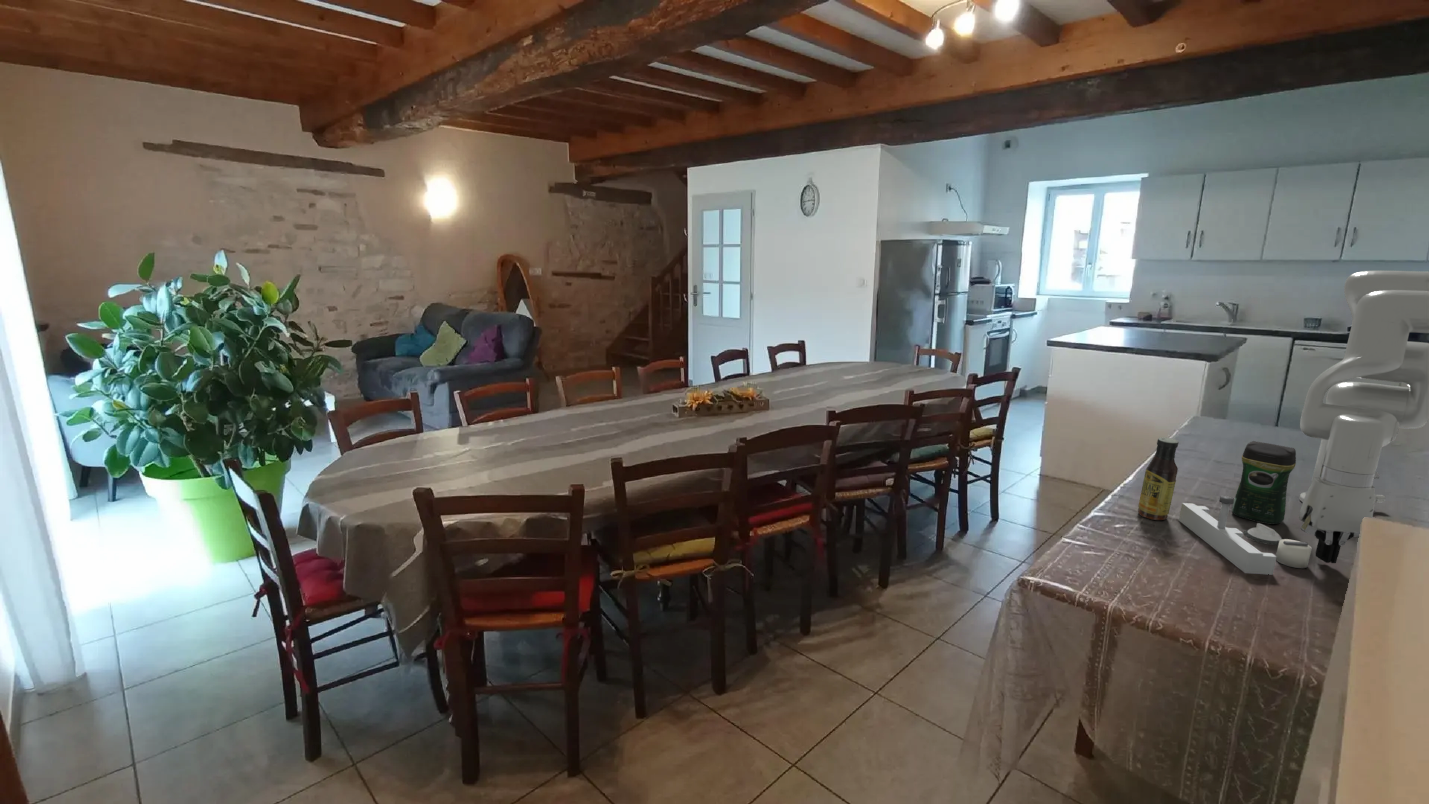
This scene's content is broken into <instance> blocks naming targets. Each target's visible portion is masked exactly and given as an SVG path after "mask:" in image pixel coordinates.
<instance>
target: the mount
mask: <svg viewBox="0 0 1429 804" xmlns="http://www.w3.org/2000/svg"><path fill="white" fill-rule="evenodd" d="M1234 499H1235V497H1234V498H1233V497H1231V496H1228V495H1220V496H1219V500H1218V501H1219V502H1220V504H1221V506H1220V511H1219V515H1218V520H1217V519H1216V518H1214V516H1212V515H1210V511H1211V510H1210V509H1209V507H1207V506H1205V505H1196V504H1195V503H1189V502H1188V503H1187V502H1182V503H1181V507H1180V511H1179V518H1178V521H1179V522H1180V523H1181V524H1183V525H1184V526H1185V527H1187V528H1188V529H1189V530H1190V531H1191V532H1192V533H1194V534H1195V535H1196V536H1198V537H1200V539H1201V540H1203V541H1204V542H1205V543H1206V544H1208V545H1209V546H1211V547H1212V548H1213V549H1214V550H1215V551H1216V552H1218V553H1219V554H1221V555H1222V556H1223V557H1224V558H1225V559H1227V560H1228V561H1229V562H1230V563H1232V565H1234V566H1235V567H1237V568H1238V569H1239V570H1240V571H1242V572H1243V573H1244V574H1254V575H1268V574H1269V576H1270V575H1271V576H1273V574H1274V570H1275V567H1276V561H1277V560H1276V558H1277V557H1276V554H1274V553H1272V552H1262V551H1260V550H1259V549H1257V548H1256V547H1255V546H1253V545H1252V544H1251V543H1249V542H1248V541H1246V540H1245V539H1244V538H1243V537H1244V532H1242V531H1241V530H1240V529H1238V528H1236V527H1227V521H1228V517H1229V511H1230V506H1231V505H1233V503H1234Z"/></svg>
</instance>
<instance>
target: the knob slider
mask: <svg viewBox="0 0 1429 804" xmlns="http://www.w3.org/2000/svg"><path fill="white" fill-rule="evenodd" d="M1312 550H1313V549H1312V546H1311V545H1309V543H1308V542H1305V541H1299V540H1294V539H1290V538H1289V539H1288V538H1283V539H1282V540H1280V541H1279V545H1277V550H1276V554H1275V556H1276V557H1277V558H1276V561H1277V563H1280V564H1282V565H1285V566H1287V567H1291V568H1296V569H1305V568H1308V566H1309V562H1310V558H1311V555H1312V554H1311V553H1312Z"/></svg>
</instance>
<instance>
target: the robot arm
mask: <svg viewBox="0 0 1429 804" xmlns="http://www.w3.org/2000/svg"><path fill="white" fill-rule="evenodd" d="M1343 287H1344V288H1343V291H1344V296H1345V298H1344V299H1345V300H1346V303H1347V305H1348V307H1349V310H1350V315H1351V321H1352V322H1351V327H1350V331H1349V335H1348V340H1347V344H1346V348H1345V352H1344V357H1343V359H1341V361H1338V362H1337V363H1336V364H1335V363H1334V364H1333V365H1332V366H1330V367H1328V368H1327V369H1326V370H1324V371H1323V372H1321V373H1320V374H1319V375H1318V376H1317V377H1316V378H1315V379H1314V380H1313V381H1312V382H1311V384H1310V386H1309V388H1308V389H1307V390H1308V391H1307V392H1306V396H1305V400H1304V403H1303V407H1302V412H1301V415H1300V416H1301V417H1300V420H1299V421H1300V422H1299V423H1300V424H1299V427H1300V430H1301V432H1302V434H1303V435H1305V436H1307V437H1309V438H1313V439H1318V440H1320V444H1319V448H1318V453H1317V457H1316V462H1315V466H1314V468H1313V469H1314V470H1313V474H1312V479H1311V481H1310V482H1311V483H1310V485H1309V487H1308V489H1307V491H1305V492H1304V491H1303V492H1301V493H1300V494H1299V500H1300V501H1301V503H1302V504H1301V507H1300V511H1299V514H1298V519H1299V521H1301V522H1303V523H1302V525H1301V527H1300V530H1301V531H1303V532H1304V533H1307V534H1309V535H1313V536H1314V537H1315V538H1316V539H1317V540H1318V541H1317V545H1316V550H1315V557H1316V558H1318V559H1319V560H1321V561H1323V562H1324V563H1325V564H1330V563H1331V564H1336V563H1337V561H1338V558H1339V554H1340V550H1341V547H1343V546H1345V545H1346V544H1347V542H1348V541H1349V540H1350V539H1352V538H1357V537H1360V536H1359V534H1360V524H1361V522H1362V519H1363V518H1364V517H1371V518H1372V519H1373V517H1374V510H1375V503H1378V504H1379V503H1380V504H1382V503H1385V502H1386V496H1385V495H1383V494H1376V491H1375V490H1376V489H1375V486H1374V485H1373V483H1374V480H1375V479H1376V480H1378V479H1380V476H1381V475H1380V474H1379V472H1378V471H1377V468H1378V465H1379V461H1380V457H1381V453H1382V450H1383V449H1382V448H1383V447H1386V446H1388V445H1389V444H1390V443H1391V442H1394V441H1395V440H1396V439H1397V437H1398V434H1399V431H1400V429H1409V430H1410V429H1411V430H1412V429H1413V430H1414V429H1415V430H1416V429H1420V428H1423V427H1424V426H1426V424H1427V422H1428V421H1429V342H1422V341H1421V342H1420V341H1408V340H1409V336H1410V333H1420V334H1429V271H1421V270H1420V271H1419V270H1418V271H1417V270H1416V271H1415V270H1412V271H1411V270H1363V271H1362V270H1361V271H1358V272H1354V273H1351V274H1350V275H1349V276H1348V277H1347V278H1346V280H1345V282H1344V286H1343ZM1352 379H1362V380H1369V381H1370V380H1371V381H1379V382H1386V383H1387V382H1389V383H1397V384H1398V383H1399V384H1405V385H1406V386H1399V385H1398V386H1397V385H1389V384H1383V383H1381V384H1380V383H1372V382H1363V381H1361V382H1360V381H1348V380H1352ZM1325 395H1326V399H1325V403H1324V402H1323V400H1324V398H1325Z"/></svg>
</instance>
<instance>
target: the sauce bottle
mask: <svg viewBox="0 0 1429 804" xmlns="http://www.w3.org/2000/svg"><path fill="white" fill-rule="evenodd" d="M1178 446H1179V441H1178V440H1177V439H1175V438H1171V437H1158V438H1157V441H1156V450H1155V453H1154V455H1153V458H1152V459H1151V461H1150V462H1149V464H1148V466H1147V467H1146V469H1145V471H1144V472H1145V473H1144V478H1143V482H1142V485H1141V491H1140V497H1139V502H1138V509H1137V512H1138V515H1140V516H1141V517H1143V518H1146V519H1148V520H1150V521H1165V520H1166V519H1168V517H1169V514H1170V509H1171V505H1172V501H1173V500H1172V499H1173V496H1174V491H1175V487H1176V482H1177V475H1178V471H1179V470H1178V469H1179V468H1178V466H1177V464H1176V462H1175V458H1176V455H1175V454H1176V450H1177V448H1178Z"/></svg>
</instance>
